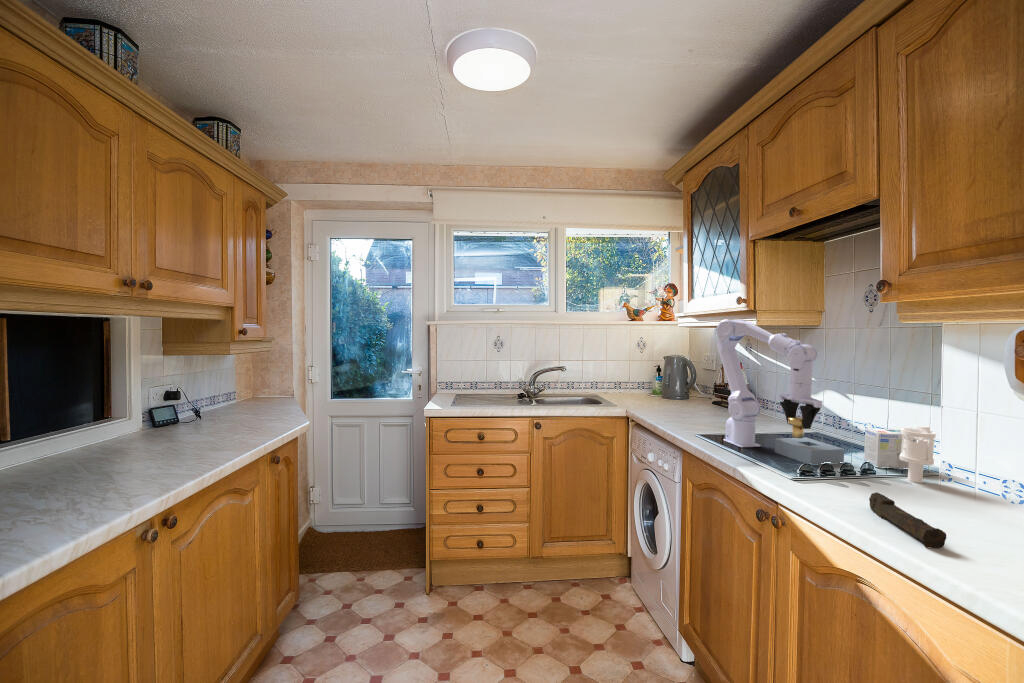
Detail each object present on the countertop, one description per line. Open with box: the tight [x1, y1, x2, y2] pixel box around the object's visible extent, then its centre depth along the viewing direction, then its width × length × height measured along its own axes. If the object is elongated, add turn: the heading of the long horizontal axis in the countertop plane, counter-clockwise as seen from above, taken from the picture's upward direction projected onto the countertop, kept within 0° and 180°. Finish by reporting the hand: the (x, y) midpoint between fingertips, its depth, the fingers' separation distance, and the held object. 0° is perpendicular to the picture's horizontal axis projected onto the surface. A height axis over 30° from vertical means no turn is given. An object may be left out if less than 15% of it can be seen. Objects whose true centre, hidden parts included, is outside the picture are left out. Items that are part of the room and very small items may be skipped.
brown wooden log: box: [868, 491, 947, 549], centre depth 97 cm, size 19×4×5 cm, turn 171°
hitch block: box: [774, 436, 845, 465], centre depth 145 cm, size 14×12×4 cm
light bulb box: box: [863, 428, 918, 468], centre depth 138 cm, size 11×7×11 cm, turn 84°
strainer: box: [899, 425, 937, 484], centre depth 125 cm, size 7×7×15 cm
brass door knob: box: [787, 416, 805, 439], centre depth 143 cm, size 6×6×6 cm
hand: (798, 426), depth 143 cm, fingers closed on brass door knob, 6 cm apart
